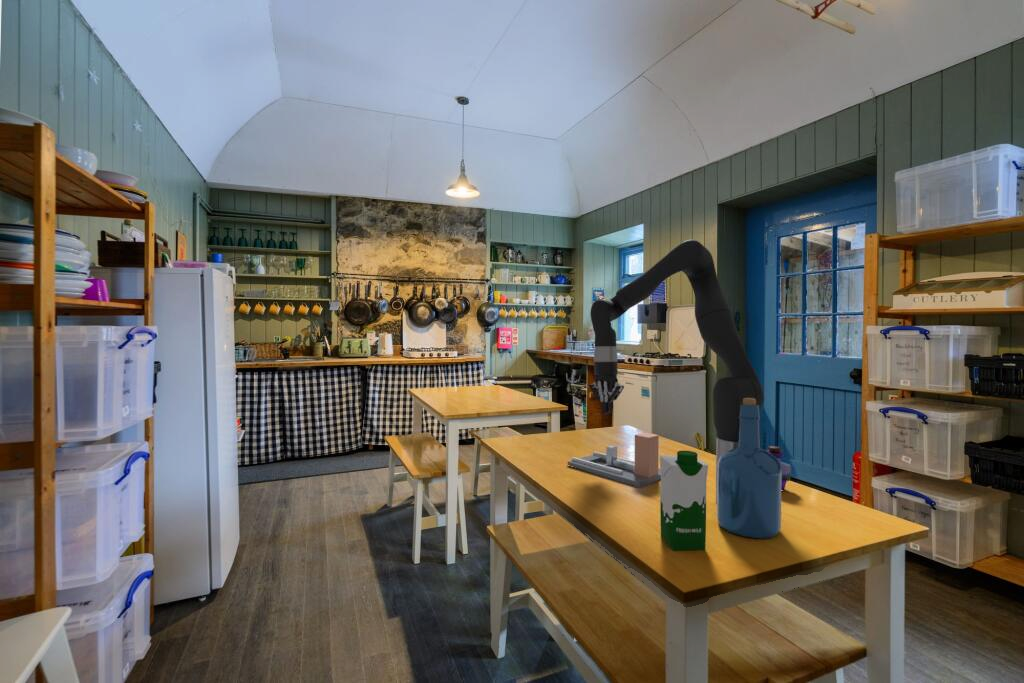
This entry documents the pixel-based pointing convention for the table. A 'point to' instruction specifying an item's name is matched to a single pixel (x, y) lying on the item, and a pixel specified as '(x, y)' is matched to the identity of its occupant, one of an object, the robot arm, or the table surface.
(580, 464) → the track
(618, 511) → the table surface
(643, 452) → the block
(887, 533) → the table surface
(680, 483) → the milk carton
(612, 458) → the grey l-shaped rod
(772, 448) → the potion bottle
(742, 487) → the wine bottle
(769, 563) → the table surface
